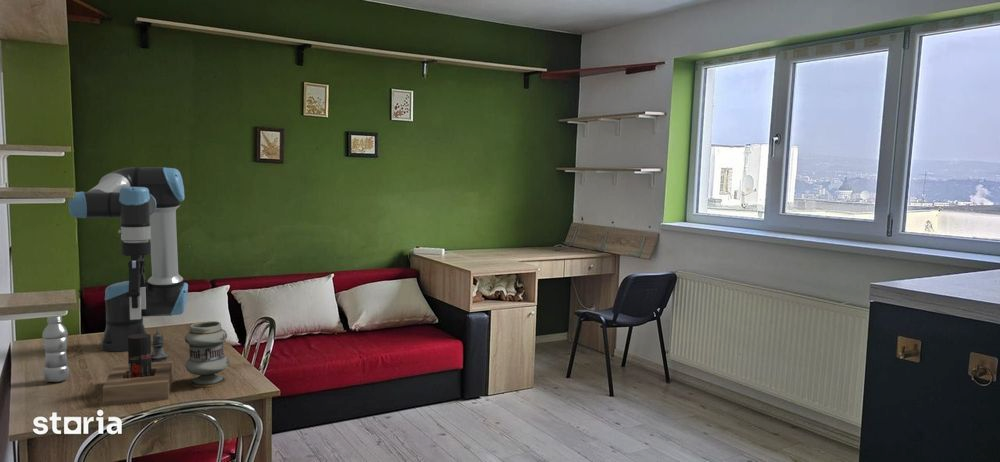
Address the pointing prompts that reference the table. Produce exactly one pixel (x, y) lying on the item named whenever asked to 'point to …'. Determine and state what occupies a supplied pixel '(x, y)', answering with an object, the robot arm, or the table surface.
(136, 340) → the deodorant
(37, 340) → the table surface
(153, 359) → the salt shaker
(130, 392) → the holder block
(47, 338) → the plastic bottle
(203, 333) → the apothecary jar
